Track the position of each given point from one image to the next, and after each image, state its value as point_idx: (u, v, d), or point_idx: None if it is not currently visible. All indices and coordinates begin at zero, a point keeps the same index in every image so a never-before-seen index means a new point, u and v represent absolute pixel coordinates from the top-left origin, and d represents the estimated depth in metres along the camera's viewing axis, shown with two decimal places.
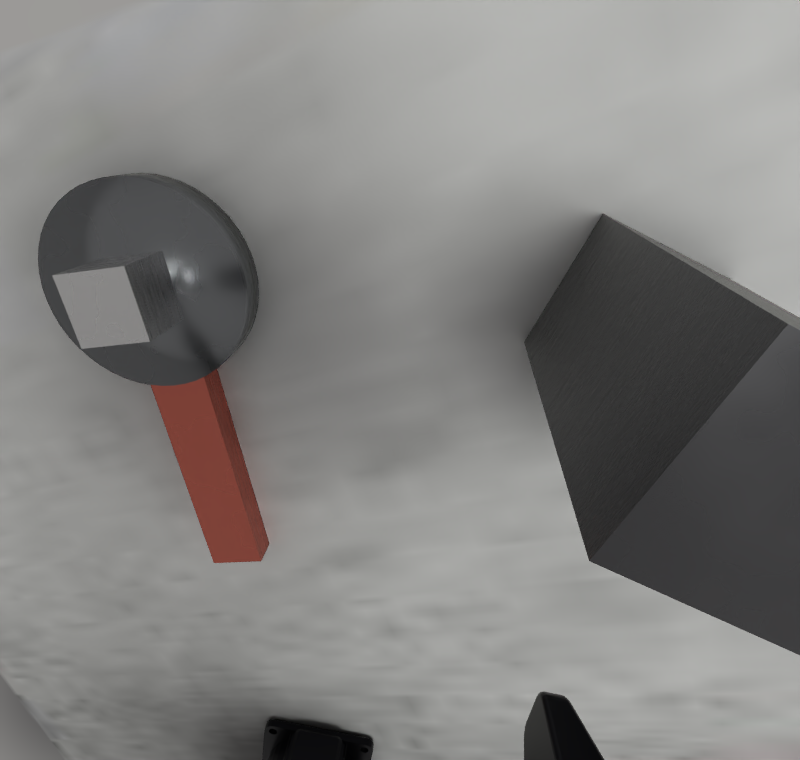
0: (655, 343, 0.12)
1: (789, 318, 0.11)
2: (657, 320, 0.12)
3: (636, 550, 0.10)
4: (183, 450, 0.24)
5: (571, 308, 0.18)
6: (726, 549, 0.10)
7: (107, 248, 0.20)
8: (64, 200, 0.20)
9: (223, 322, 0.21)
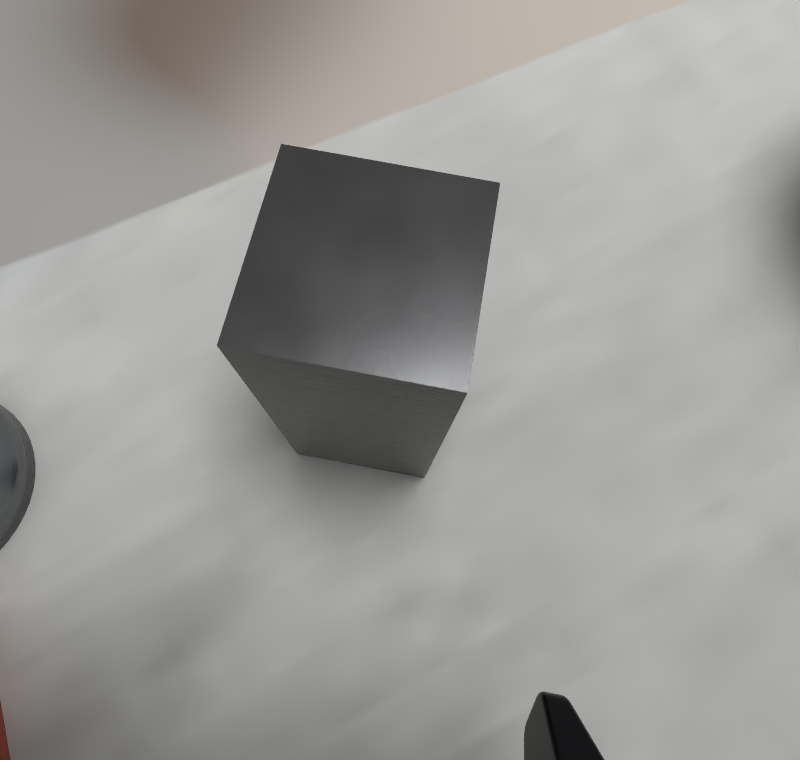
0: None
1: None
2: None
3: (253, 323, 0.12)
4: None
5: None
6: (324, 301, 0.12)
7: None
8: None
9: None
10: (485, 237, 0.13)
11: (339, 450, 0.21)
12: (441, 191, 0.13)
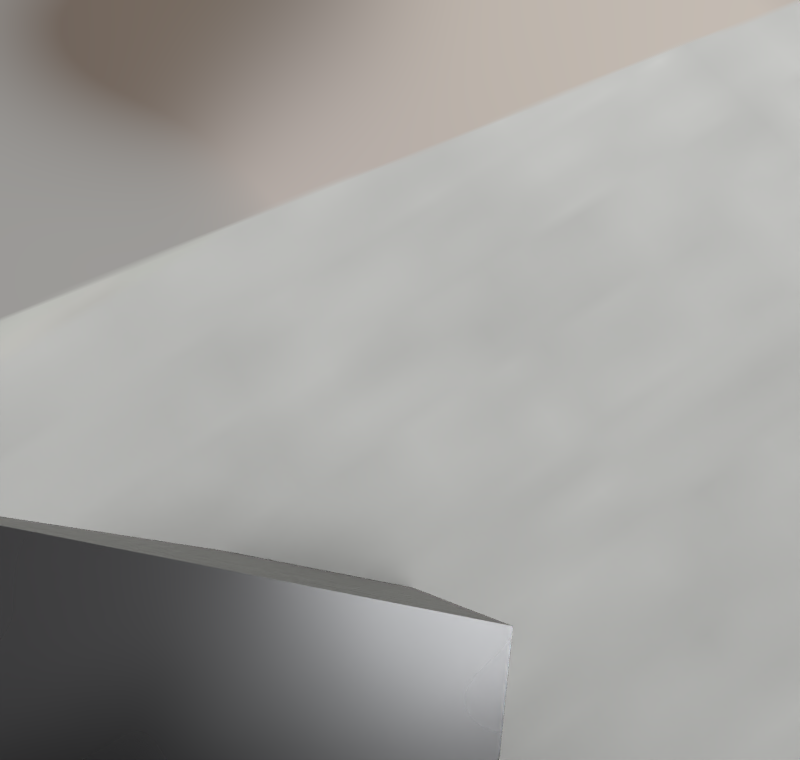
0: None
1: (165, 547, 0.07)
2: None
3: None
4: None
5: None
6: None
7: None
8: None
9: None
10: None
11: None
12: (312, 672, 0.04)
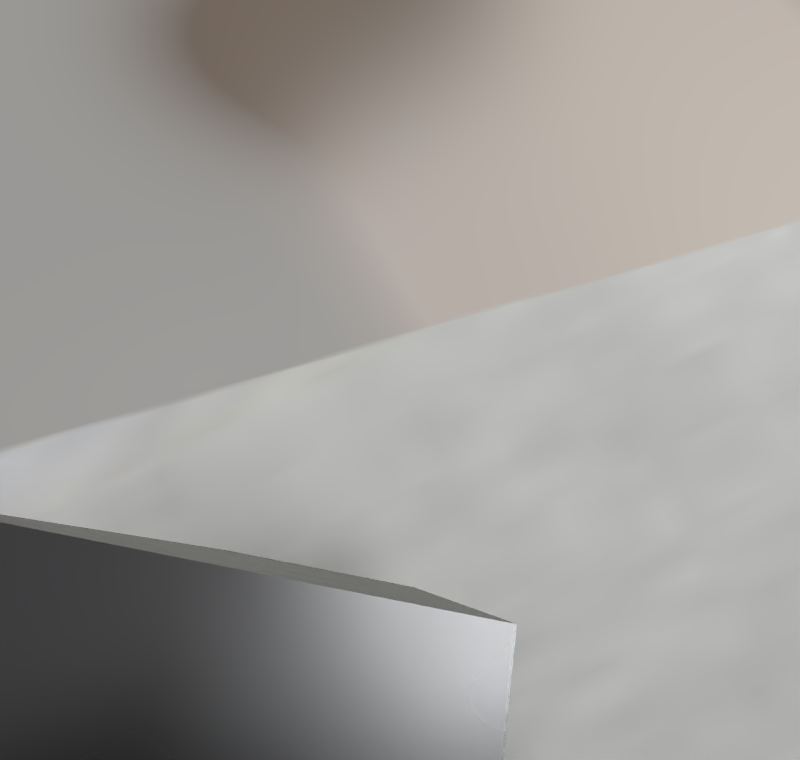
0: None
1: (168, 546, 0.07)
2: None
3: None
4: None
5: None
6: None
7: None
8: None
9: None
10: None
11: None
12: (316, 670, 0.04)
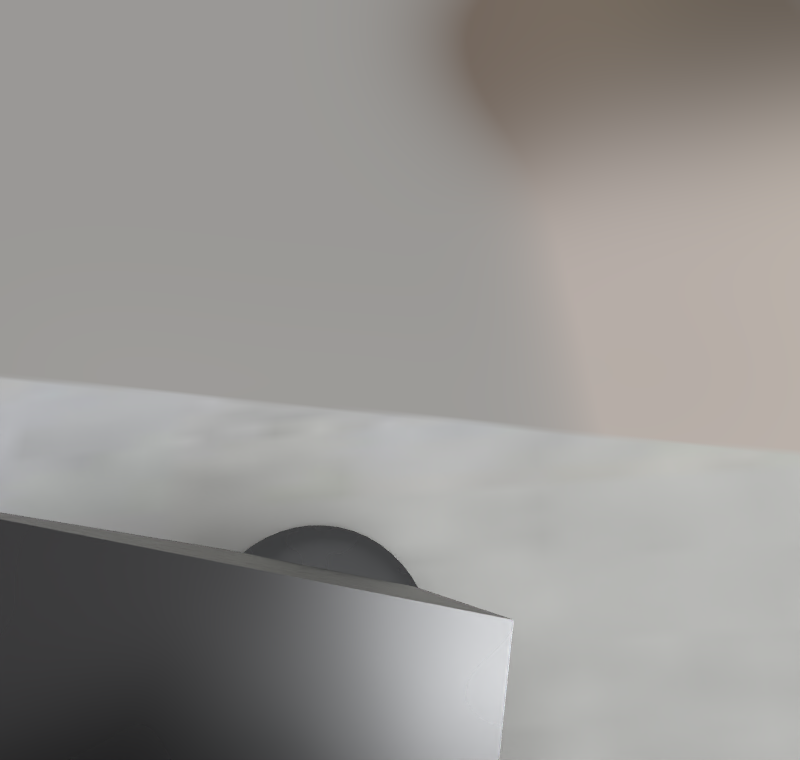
0: None
1: (166, 544, 0.07)
2: None
3: None
4: None
5: None
6: None
7: None
8: (286, 533, 0.19)
9: None
10: None
11: None
12: (313, 666, 0.04)
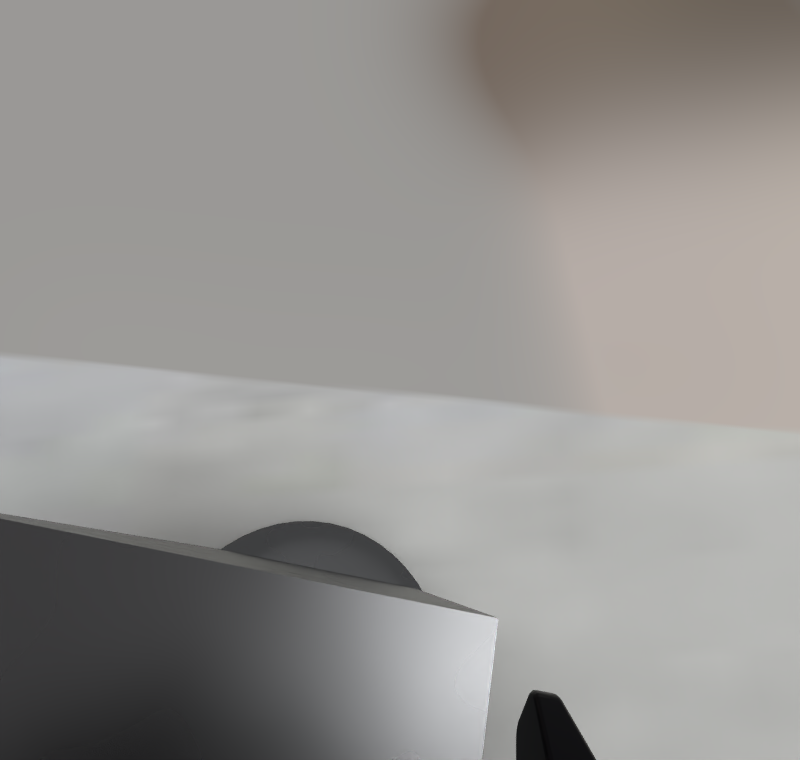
0: None
1: (180, 547, 0.07)
2: None
3: None
4: None
5: None
6: None
7: None
8: (267, 530, 0.16)
9: None
10: None
11: None
12: (320, 658, 0.04)
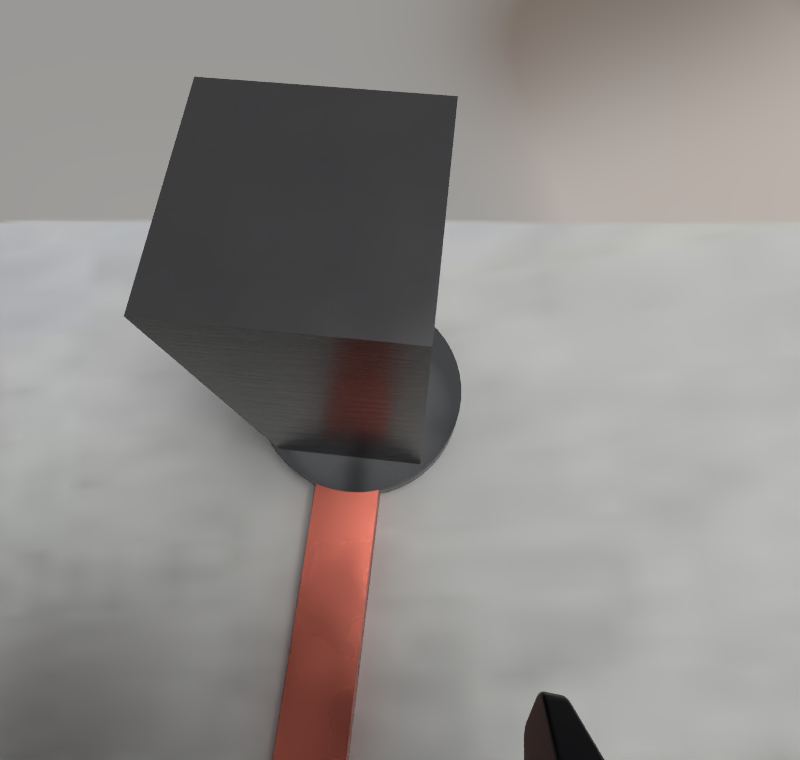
0: None
1: None
2: None
3: (167, 286, 0.10)
4: (313, 578, 0.20)
5: None
6: (251, 253, 0.10)
7: None
8: None
9: (427, 436, 0.21)
10: (443, 160, 0.10)
11: (320, 440, 0.18)
12: (387, 112, 0.11)
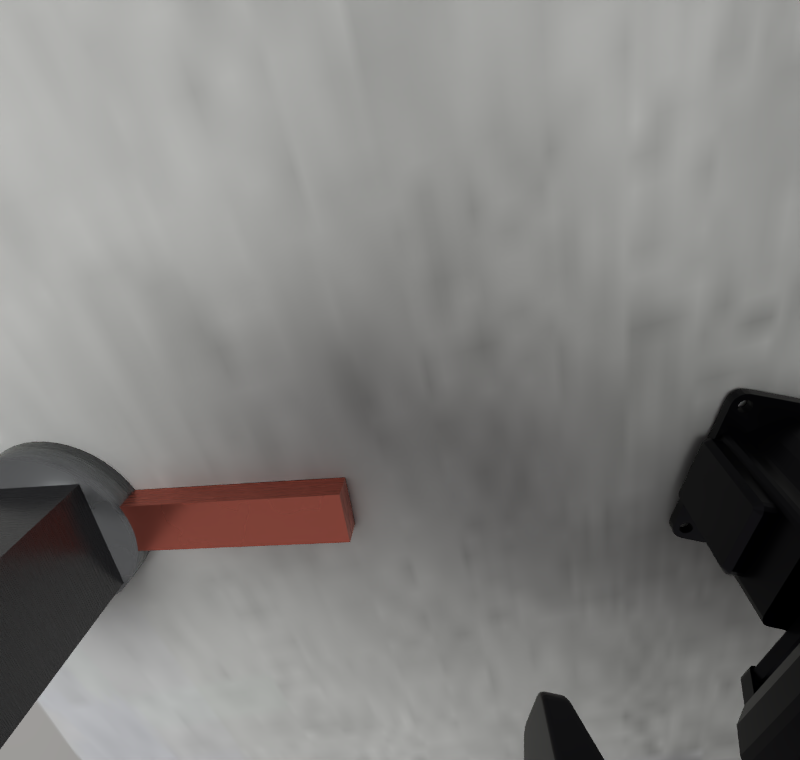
0: None
1: None
2: None
3: None
4: (206, 539, 0.24)
5: None
6: None
7: None
8: None
9: (53, 482, 0.23)
10: None
11: (72, 592, 0.22)
12: None
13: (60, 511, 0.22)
